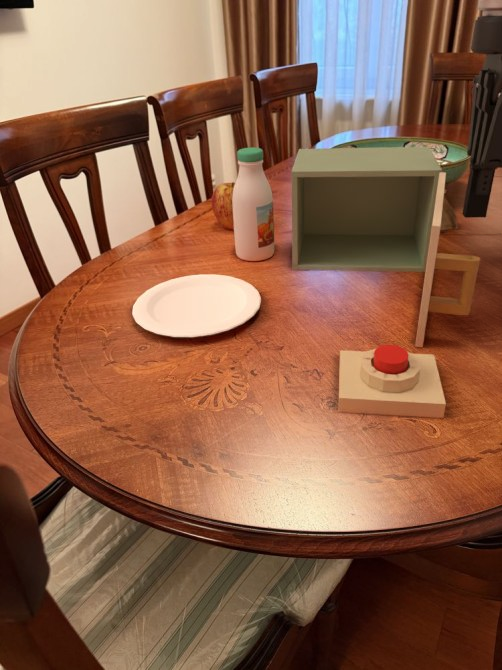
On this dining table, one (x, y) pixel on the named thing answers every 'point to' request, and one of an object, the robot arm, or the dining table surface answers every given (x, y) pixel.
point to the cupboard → (363, 208)
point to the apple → (224, 204)
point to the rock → (448, 217)
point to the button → (390, 359)
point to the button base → (390, 386)
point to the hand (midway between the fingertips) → (473, 215)
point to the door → (447, 263)
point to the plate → (196, 306)
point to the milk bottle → (252, 208)
